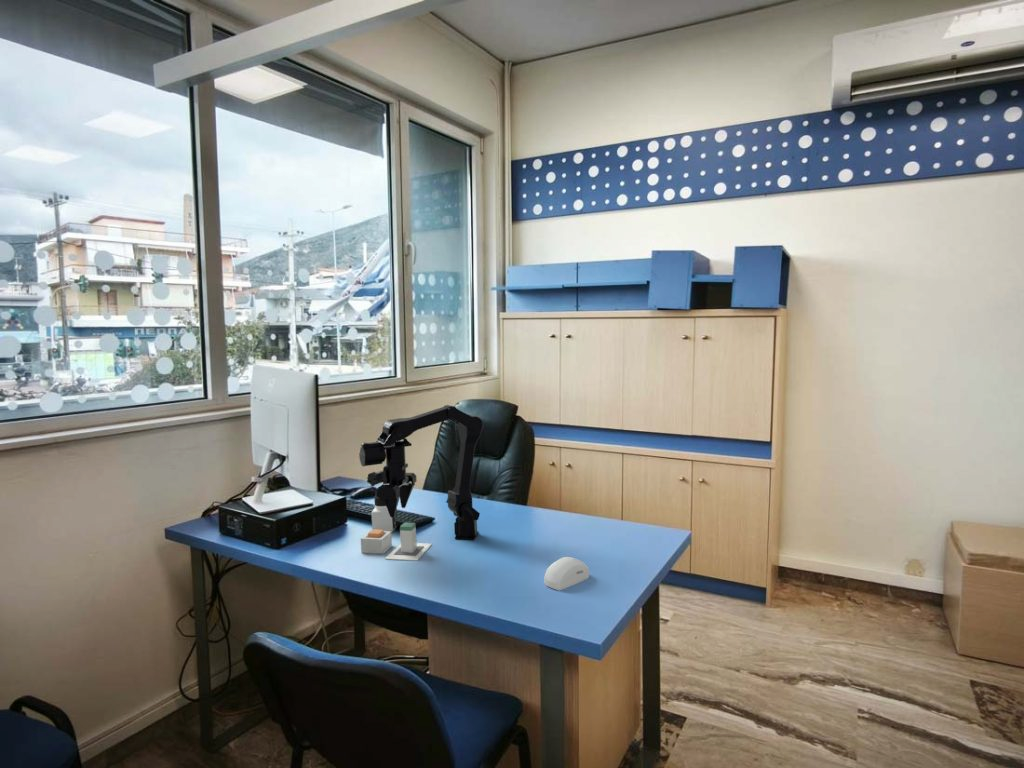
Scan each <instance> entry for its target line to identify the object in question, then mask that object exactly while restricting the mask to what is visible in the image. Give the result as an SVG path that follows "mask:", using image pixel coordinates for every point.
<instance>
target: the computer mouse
mask: <svg viewBox="0 0 1024 768" xmlns="http://www.w3.org/2000/svg"><path fill="white" fill-rule="evenodd" d="M589 578H590V569H589V567H588V566H587V565H586V564H585V562H583V561H582V560H580V559H577V558H575V557H570V556H563V557H561V558H559V559H557V560H556V561H554V562H552V563H551V565H550V566H548V567H547V569H546V570H545V573H544V579H543V581H544V585H545V586H547V587H548V588H551V589H554V590H556V591H561V590H565V589H568V588H569V587H572V586H574V585H577V584H579V583H581V582H583V581H585V580H588V579H589Z"/></svg>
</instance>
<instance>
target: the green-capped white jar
mask: <svg viewBox="0 0 1024 768" xmlns="http://www.w3.org/2000/svg"><path fill="white" fill-rule="evenodd" d="M416 527H417V526H416V522H403V523H402V524H401V525H400V526H399V533H400V534H399V536H400V537H399V538H400V544H401V552H408V553H413V552H414V551H415V550H416V548H417V544H416V543H417V530H416V529H417V528H416Z"/></svg>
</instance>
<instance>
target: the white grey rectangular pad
mask: <svg viewBox="0 0 1024 768" xmlns="http://www.w3.org/2000/svg"><path fill="white" fill-rule="evenodd" d="M416 544H417V548H416V550H415V551H414V552H413V553H408V552H401V543H400V544H399V545H397V547H395V548H394V549H393V550H392V551H391V552H390V553H389V554H388V555H387V556H386V557H385V558H384V559H385V560H393V561H409V562H410V561H411V562H412V561H413V562H418V561H419V560H420V558H422V557H423V555H424V554H425V553H426V552H427V551H428V550H429V549H430V547H432V544H433V543H426V542H425V543H424V542H423V543H422V542H421V543H419V542H416Z"/></svg>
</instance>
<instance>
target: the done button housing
mask: <svg viewBox="0 0 1024 768" xmlns="http://www.w3.org/2000/svg"><path fill="white" fill-rule="evenodd" d="M370 531H371V530H369V531H368V532H367V533H366V534H364V535H363V536H361V538H360V546H361V547H360V550H361V554H379V555H380V554H381V555H383V554H384V553H385V552H387V551H388V550H389V549H390V548H391V547H392V546H393V543H392V542H393V541H392V532H391V531H384V535H383V536H382V537H381V538H368V533H369V532H370Z"/></svg>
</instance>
